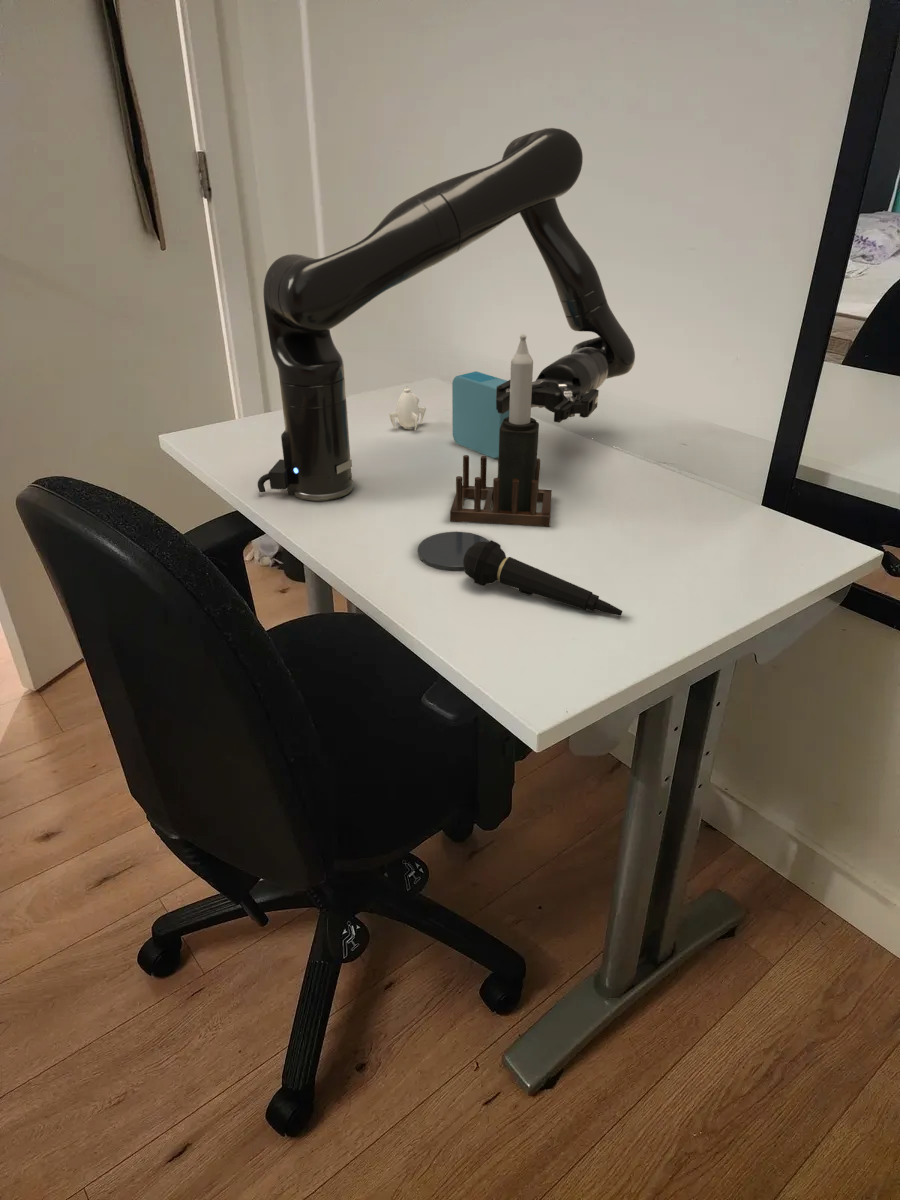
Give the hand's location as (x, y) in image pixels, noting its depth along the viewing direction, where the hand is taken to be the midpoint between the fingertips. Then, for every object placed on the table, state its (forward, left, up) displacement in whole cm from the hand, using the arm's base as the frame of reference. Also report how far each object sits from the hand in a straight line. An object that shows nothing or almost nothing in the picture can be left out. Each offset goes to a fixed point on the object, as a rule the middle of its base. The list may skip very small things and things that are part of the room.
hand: (527, 411), depth 111 cm
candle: (-1, -3, -14) cm, 14 cm away
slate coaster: (-8, -17, -14) cm, 23 cm away
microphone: (+3, -27, -14) cm, 31 cm away
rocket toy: (-23, +31, -14) cm, 41 cm away
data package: (-8, +22, -14) cm, 27 cm away
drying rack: (-3, -3, -14) cm, 15 cm away
